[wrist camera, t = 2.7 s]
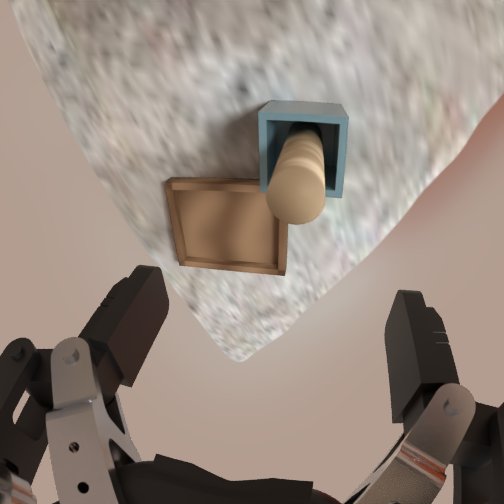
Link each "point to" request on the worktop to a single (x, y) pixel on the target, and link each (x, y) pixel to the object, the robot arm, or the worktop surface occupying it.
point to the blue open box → (289, 112)
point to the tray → (226, 225)
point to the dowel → (299, 176)
